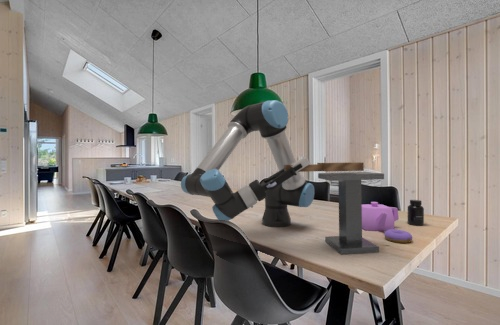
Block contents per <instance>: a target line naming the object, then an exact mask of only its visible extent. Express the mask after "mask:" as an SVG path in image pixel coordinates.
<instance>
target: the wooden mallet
mask: <svg viewBox="0 0 500 325" xmlns="http://www.w3.org/2000/svg"><path fill="white" fill-rule="evenodd" d="M364 164H365V163H364V162H361V161H360V162H354V161H353V162H351V161H350V162H349V161H348V162H346V161H345V162H343V161H342V162H317V164H316V163H315V164H311V163H310V164H309V165H308V166H306V167H304V168H303V169H301V170H300V171H298V172H300V173H301V172H303V173H304V172H306V173H307V172H325V173H329V172H365V171H364V170H365V168H364V167H365V166H364ZM291 166H293V165H284V171H286V170H288V169H289V168H291Z"/></svg>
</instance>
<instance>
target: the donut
mask: <svg viewBox="0 0 500 325" xmlns="http://www.w3.org/2000/svg"><path fill="white" fill-rule="evenodd" d="M383 235H384V238H385V239H386V240H388V241H390V242H393V243H398V244H399V243H400V244H407V243H411V241H413V236H412V233H410V232H409V231H405V230H401V229H398V228H397V229H395V228H394V229H389V230H387V231H384V233H383Z"/></svg>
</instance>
